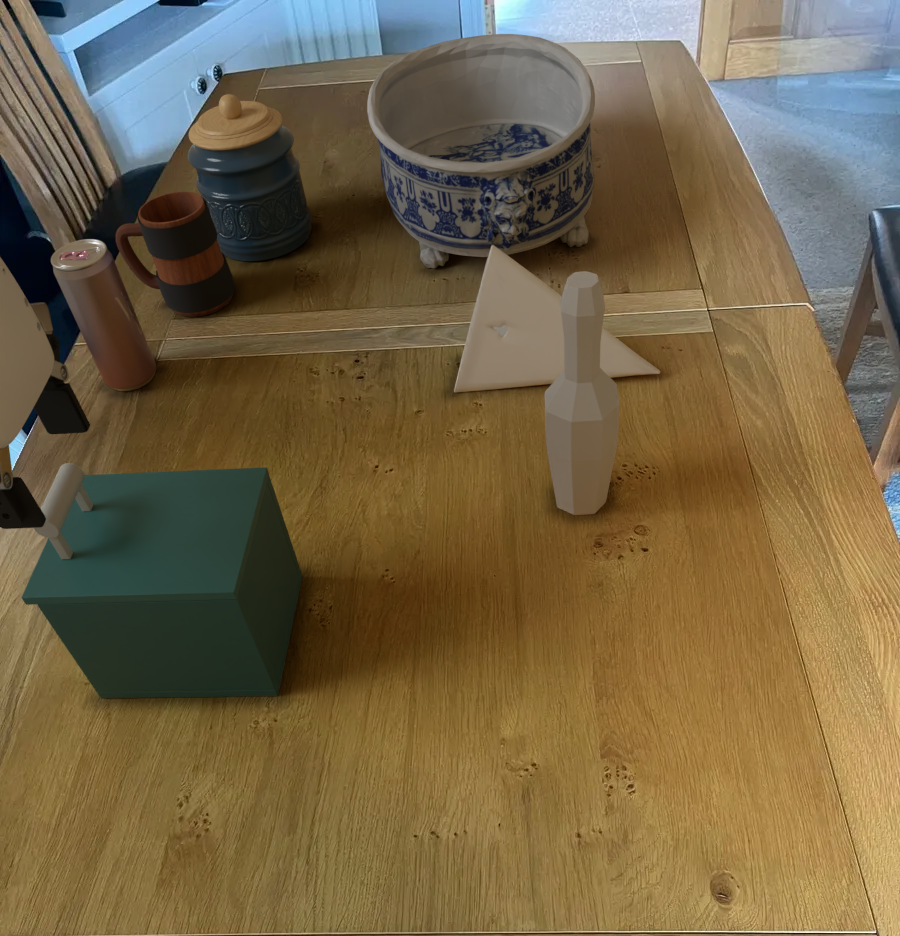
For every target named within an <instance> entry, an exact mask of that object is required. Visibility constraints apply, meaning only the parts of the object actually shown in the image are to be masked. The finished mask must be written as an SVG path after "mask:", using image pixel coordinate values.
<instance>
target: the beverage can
mask: <svg viewBox="0 0 900 936" xmlns="http://www.w3.org/2000/svg"><path fill="white" fill-rule="evenodd" d="M50 263H51V265H52V271H53V275H54V277H55V279H56V281H57V283H58V285H59V287H60V290H61V292H62V294H63V297H64V299H65V300H66V303H67V305H68V307H69V310H70V311H71V314H72V315H73V318H74V320H75V322H76V324H77V327H78V329H79V331H80V333H81V335H82V337H83V339H84V342H85V344H86V346H87V348H88V351H89V352H90V354H91V356H92V358H93V361H94V363H95V366H96V367H97V370H98V372H99V374H100V376H101V378H102V381H103V383H104V384H105V385H106V386H107V387H109V388H110V389H112V390H114V391H117V392H118V391H119V392H130V391H134V390H138V389H141V388H143V387H145V386H146V385H147V384H149V383H150V382H151V381H152V380H153V379H154V377H155V375H156V372H157V371H156V370H157V363H156V360H155V358H154V356H153V353H152V350H151V347H150V346H149V343H148V341H147V338H146V336H145V333H144V330H143V329H142V326H141V323H140V321H139V319H138V316H137V314H136V311H135V308H134V306H133V303H132V301H131V298H130V296H129V294H128V291H127V288H126V287H125V284H124V281H123V279H122V277H121V274H120V272H119V268H118V266H117V264H116V261H115V259H114V256H113V253H112V252H111V251H110V250H109V249H108V247H107V245H106V243H105V242H104V241H102V240H100V239H95V238H84V239H78V240H74V241H71V242H68V243H66V244H64V245H62V246H61V247H59V248H58V249H57V250H55V251H54V252H53V253H52V255H51V256H50Z"/></svg>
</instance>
